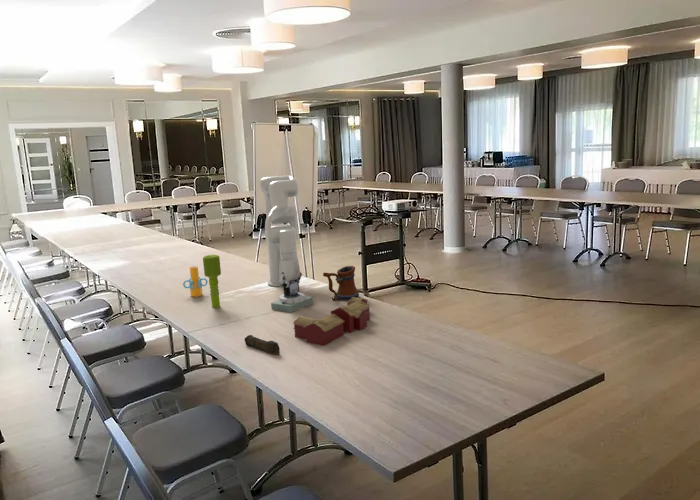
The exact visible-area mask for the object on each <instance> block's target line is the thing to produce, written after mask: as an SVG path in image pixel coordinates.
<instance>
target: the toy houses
mask: <svg viewBox="0 0 700 500" xmlns="http://www.w3.org/2000/svg"><path fill="white" fill-rule="evenodd" d="M368 301H369V300H368V299H365V298H361V297H358V298H355V297H352V298H351V299H350V300H347V303H346V306H344V305H343V306H340V307H338V308H335V309H333V310H331V311H329V313H330V315H327V316H324V317H322V318H320V319H318V318H311V317H306V316H298V317H297V318H296V319H295V320H294V321H293V323H292V324H293V326H294V327H293V330H294V337H295V338H297V339H303V340H305V341H306V343H308V344H312V345H318V346H323V347H325V346H326V345H328V344H330V343H332V342H334V341H335V340H337V339H340V338H341V337H343V336H344V335H345V334H344V333H346V334H347V333H348V334H351V333H353V332H355V331H356V330H357V331H362V330H364V329H366V328H367V327H368V325H367V324H368V321H370V319H371V318H370V308H371V305H370V304H368Z"/></svg>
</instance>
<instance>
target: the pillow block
mask: <svg viewBox="0 0 700 500" xmlns="http://www.w3.org/2000/svg"><path fill="white" fill-rule="evenodd" d="M270 304H271V310H272V311H273V310H274V311H280V312H286V313H294V312H296V311H298V310H300V309H303V308H306V307H308V306H310V305H313V304H314V297H313V296H307V295H305V293H302V292H298V295H297V296H294V297H287V296H285V295H284V293H283V294H280V295H279V296H278V300H275V301H272V302H271V303H270Z"/></svg>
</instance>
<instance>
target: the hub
mask: <svg viewBox="0 0 700 500" xmlns="http://www.w3.org/2000/svg"><path fill="white" fill-rule="evenodd" d="M286 283H287V282H285V284H286ZM289 288H290V296H287V297H294V296H297V295H298V293H299V292H298V283H297V281H295V280H291V281H289Z"/></svg>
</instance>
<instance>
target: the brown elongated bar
mask: <svg viewBox="0 0 700 500" xmlns="http://www.w3.org/2000/svg"><path fill="white" fill-rule="evenodd" d="M244 342H245V343H244V344H245V345H246V346H248V347H250V346H252V347H254V348H257V349H260V350H262V351H266V353H267V354H270V355H277V356H279V355H280V354H281V353H280V346H279V343H278V342H276V341H275V340H268V341H267V340H265V339H261V338H259V337H256V336H253V335H252V334H248V335H247V336H246V337H244Z"/></svg>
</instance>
